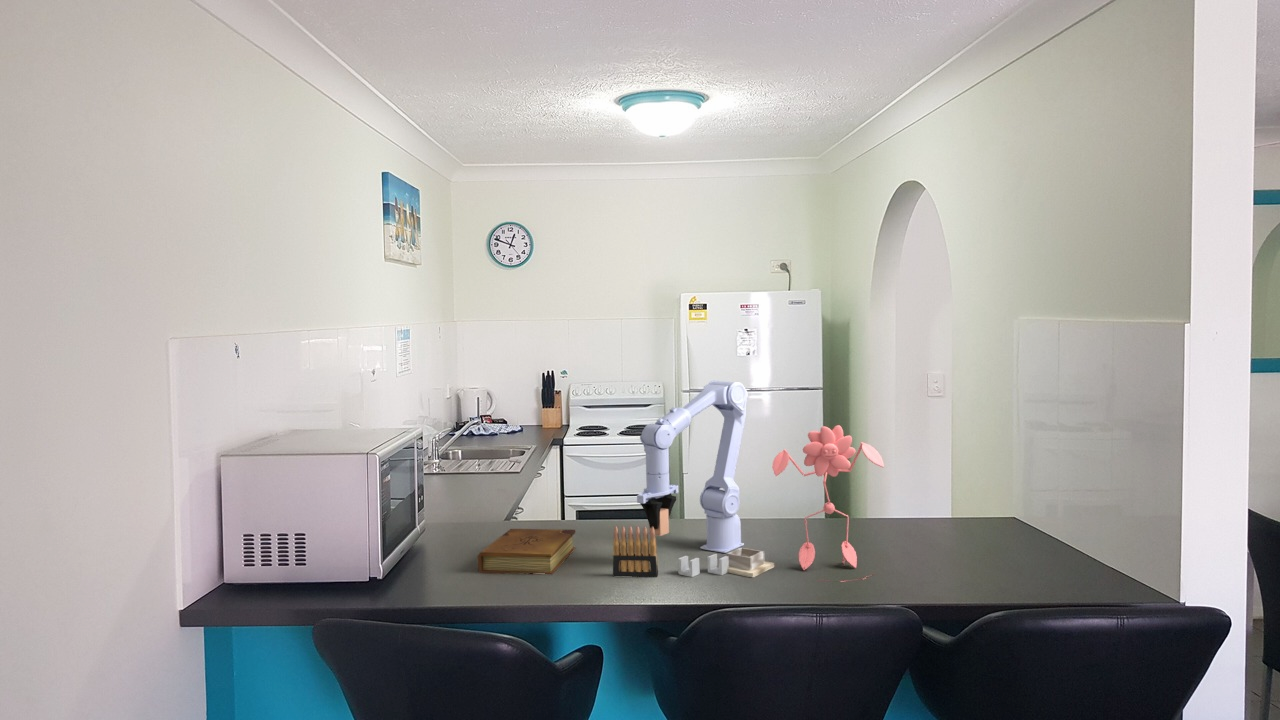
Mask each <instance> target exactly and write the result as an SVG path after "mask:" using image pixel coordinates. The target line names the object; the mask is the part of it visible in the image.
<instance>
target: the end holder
mask: <svg viewBox="0 0 1280 720" xmlns="http://www.w3.org/2000/svg"><path fill="white" fill-rule="evenodd" d="M725 556H728V561H729V568H728V573H727V574H732V575H737V576H743V577H748V578H755V577H758V576H759V575H761V574H764V573H765V572H767V571H769V570H771V569H773V568H775V562H770V561H766V559H765V558H766V557H765V556H766V554H765V550H758V549H752V548H747V547H742V546H741V547H738V548H736V549H734V550H731V551H729V552H727V553H725ZM717 567H718V568H719V565H717Z"/></svg>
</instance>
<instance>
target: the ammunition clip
mask: <svg viewBox="0 0 1280 720" xmlns="http://www.w3.org/2000/svg"><path fill="white" fill-rule="evenodd" d="M625 528H626V527H625V526H624V525H623V526H622V527H621V531H620V532H621V533H619V530H618V527H617V525H615V527H614V529H613V543H612V546H613V549H612V551H613V554H612V555H613V556H612V562H613V563H612V577H614V576H632V577H631V578H658V576H659V567H658V554H657V553H658V552H657V539H656V535H655V531H654V527H653V526H652V528H651V533H650V534H649V532H648V529H647V527H646V525H645V526H644V527H643V531H642V538H641V531H640V527H639V526H636V529H635V541H634V532H633V528H632V526H631V525H630V526H629V528H628V531H627V532H626V529H625ZM626 533H627V534H628V535H627V534H626ZM619 534H620V536H619ZM627 536H628V537H627ZM649 536H650V538H649ZM641 539H642V541H641Z"/></svg>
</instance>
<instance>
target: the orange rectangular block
mask: <svg viewBox="0 0 1280 720" xmlns="http://www.w3.org/2000/svg"><path fill="white" fill-rule="evenodd" d="M669 524H670V518H669V512H668V509H665V508H661V509H660V514H659V527H658V529H654V531H655V536H658V537H659V536H660V537H661V536H665V535H667V534H669V533H670V525H669ZM650 533H651V528H650V526H649V525H648V535H650Z"/></svg>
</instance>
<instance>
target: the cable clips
mask: <svg viewBox="0 0 1280 720" xmlns="http://www.w3.org/2000/svg"><path fill="white" fill-rule="evenodd" d="M677 561H678V563H677V564H678V566H677V567H678V575H682V576H685V577H690V578H694V577H696V576H698V575H700V574H701V573H700V571H701V570H700V558H699V557H695V558H692V559H690V560H689V555H684V556H681V557H678V560H677ZM717 566H719V568H718V567H717ZM728 568H729V561H728V556H726V555H725V556H723V557H720V558H718V554H717V553H714V554H711V555H709V556H707V573H709V574H714V575H717V576H718V575H719V576H723V575H725V574H729V573H728Z"/></svg>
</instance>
